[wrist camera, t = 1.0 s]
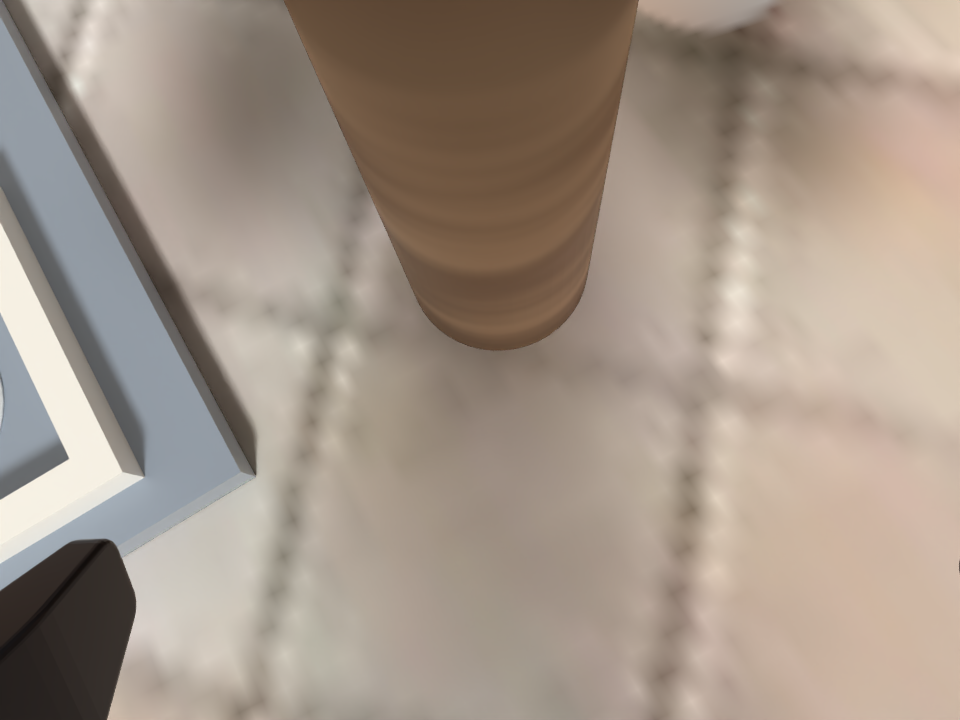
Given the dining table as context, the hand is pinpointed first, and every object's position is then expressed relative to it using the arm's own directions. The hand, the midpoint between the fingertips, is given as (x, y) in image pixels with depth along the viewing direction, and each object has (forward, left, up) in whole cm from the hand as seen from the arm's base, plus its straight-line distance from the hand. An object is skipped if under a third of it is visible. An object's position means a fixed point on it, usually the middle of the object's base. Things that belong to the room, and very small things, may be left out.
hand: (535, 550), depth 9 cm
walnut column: (+7, +4, -13) cm, 15 cm away
